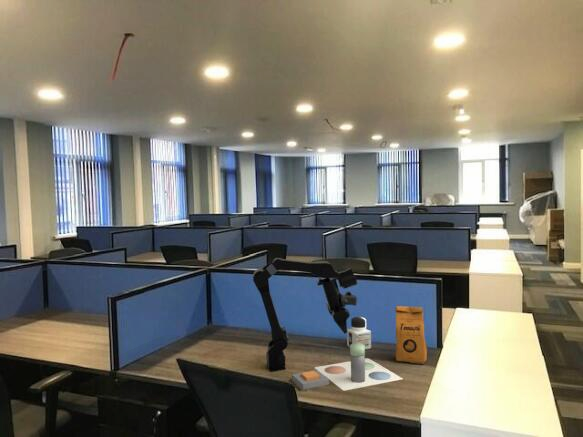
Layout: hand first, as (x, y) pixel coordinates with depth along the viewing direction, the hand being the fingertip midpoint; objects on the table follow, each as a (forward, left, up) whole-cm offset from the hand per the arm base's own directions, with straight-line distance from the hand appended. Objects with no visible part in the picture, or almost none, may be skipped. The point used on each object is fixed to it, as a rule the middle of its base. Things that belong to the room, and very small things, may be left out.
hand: (343, 329), depth 187 cm
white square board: (-1, -12, -14) cm, 18 cm away
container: (+16, +16, -14) cm, 27 cm away
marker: (-4, -18, -13) cm, 22 cm away
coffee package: (+26, -8, -14) cm, 31 cm away
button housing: (-20, -12, -14) cm, 27 cm away
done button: (-20, -12, -13) cm, 26 cm away
